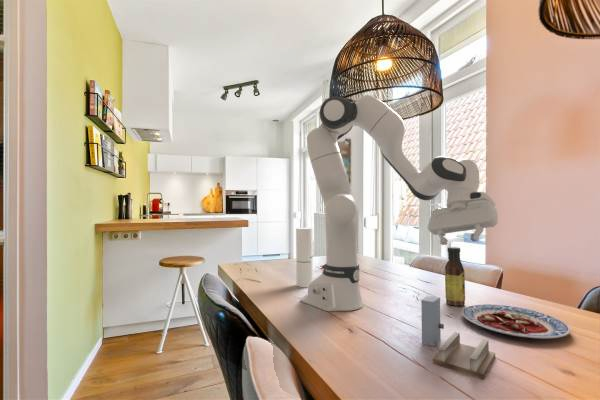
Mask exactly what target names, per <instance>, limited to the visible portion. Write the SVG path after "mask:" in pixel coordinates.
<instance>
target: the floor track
mask: <svg viewBox="0 0 600 400" xmlns="http://www.w3.org/2000/svg"><path fill="white" fill-rule="evenodd" d="M460 337H461V334H460V332H455V331H453V333H452V334H451V335H450V336H449V337H448V338H447V339H446V340H445V341H444V342H443V343H442V345H441V346H440V347H439V348H438V352H437V353H436V354H435V355H434V356H433V358H432V364H435V365H437V366H441V367H444V368H447V369H451V370H454V371H456V372H460V373H462V374H467V375H469V374H470V376H473V377H476V378H479V379H482V380H484V379H485V378H486V376H487V374H488V372H489V369H490V368H491V366H492V364H493V362H494V360H495V358H496V352H494V351H491V350H489V346H490V345H489V339H485V338H482V339H481V341H480V342H479V344H478V345H477V346H476V347H475V346H470V345H467V344H464V343H461V339H460Z"/></svg>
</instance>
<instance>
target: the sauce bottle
mask: <svg viewBox="0 0 600 400" xmlns="http://www.w3.org/2000/svg"><path fill="white" fill-rule="evenodd" d="M447 253H448V254H447V255H448V258H447V260H448V261H447V262H446V264H445V266H444V272H445V273H444V283H445V285H444V286H445V289H444V290H445V302H446V304H447V305H450V306H452V307H453V306H455V307H463V306H465V304H466V302H465V301H466V280H465V279H466V277H465V269H464V266H463V263H462V260H461V247H457V246H448V247H447Z"/></svg>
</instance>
